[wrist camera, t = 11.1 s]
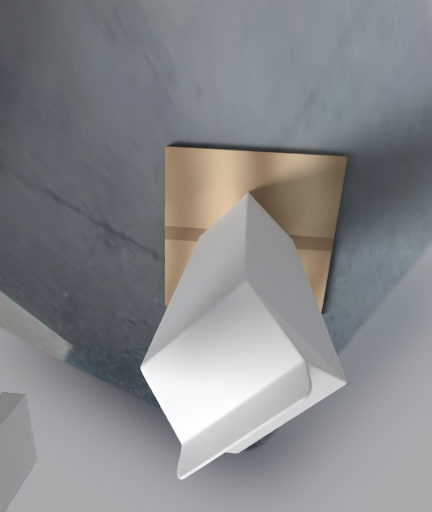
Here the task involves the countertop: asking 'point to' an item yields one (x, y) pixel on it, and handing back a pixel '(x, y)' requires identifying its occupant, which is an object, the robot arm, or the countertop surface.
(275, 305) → the milk
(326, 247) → the flat cardboard box
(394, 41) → the countertop surface
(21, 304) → the countertop surface
